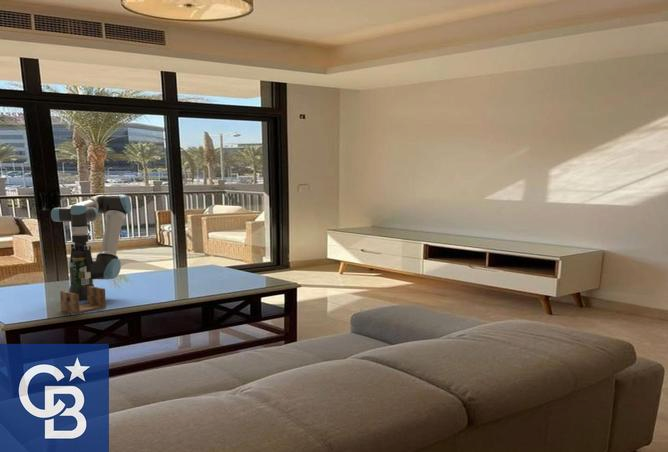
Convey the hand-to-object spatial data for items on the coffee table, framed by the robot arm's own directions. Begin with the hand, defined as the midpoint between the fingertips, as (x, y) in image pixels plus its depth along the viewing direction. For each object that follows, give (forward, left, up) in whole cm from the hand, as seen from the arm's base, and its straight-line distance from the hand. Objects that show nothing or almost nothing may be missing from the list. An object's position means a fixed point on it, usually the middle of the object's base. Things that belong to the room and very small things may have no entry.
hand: (82, 277), depth 265 cm
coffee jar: (0, 0, -4) cm, 4 cm away
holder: (0, 0, -17) cm, 17 cm away
